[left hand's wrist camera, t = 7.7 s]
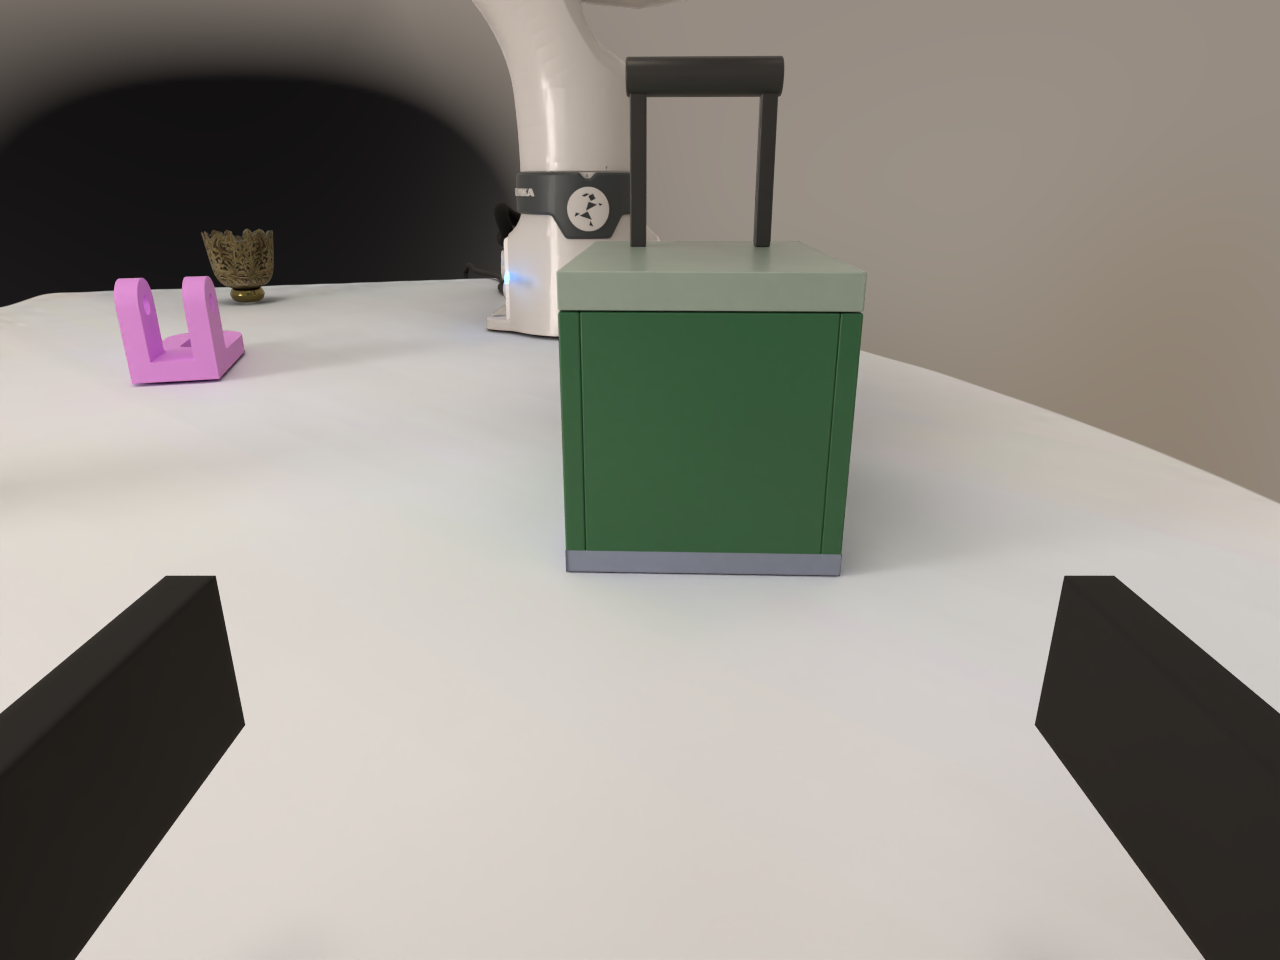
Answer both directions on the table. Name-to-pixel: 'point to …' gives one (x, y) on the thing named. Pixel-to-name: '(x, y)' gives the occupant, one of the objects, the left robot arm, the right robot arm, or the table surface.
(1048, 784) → the table surface
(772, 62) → the lid
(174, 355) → the bracket
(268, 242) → the cup
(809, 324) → the chest
